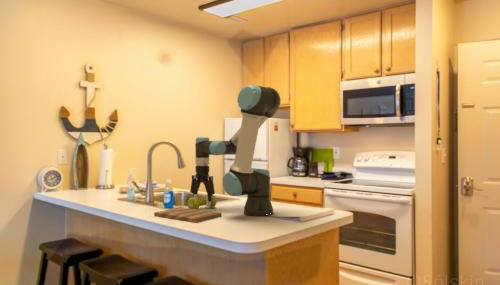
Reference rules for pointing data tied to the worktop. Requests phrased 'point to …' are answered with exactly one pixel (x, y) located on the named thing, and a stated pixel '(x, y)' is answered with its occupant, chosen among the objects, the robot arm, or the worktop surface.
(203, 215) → the board
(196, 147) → the robot arm
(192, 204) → the dumbbell
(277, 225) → the worktop surface
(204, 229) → the worktop surface
